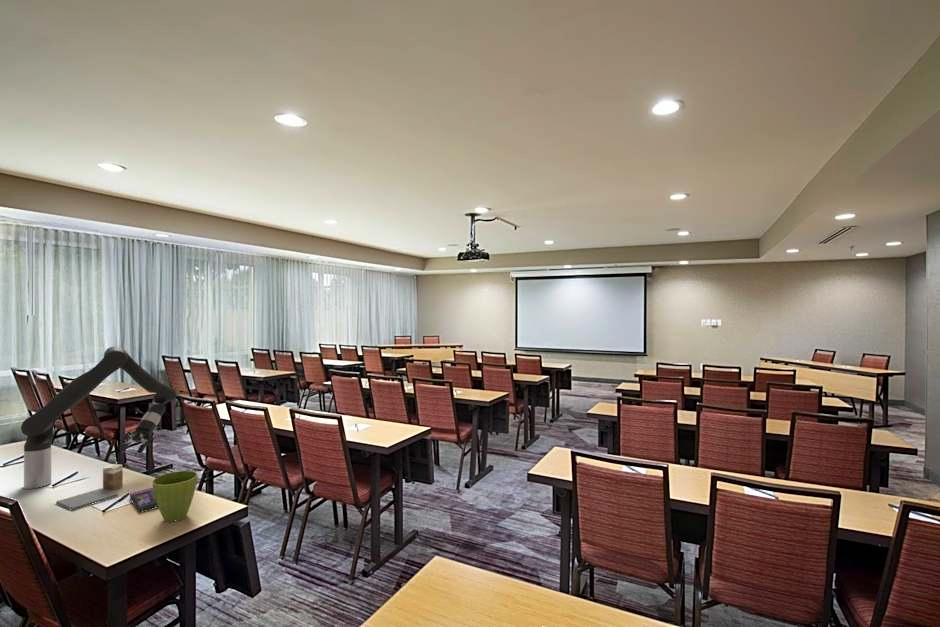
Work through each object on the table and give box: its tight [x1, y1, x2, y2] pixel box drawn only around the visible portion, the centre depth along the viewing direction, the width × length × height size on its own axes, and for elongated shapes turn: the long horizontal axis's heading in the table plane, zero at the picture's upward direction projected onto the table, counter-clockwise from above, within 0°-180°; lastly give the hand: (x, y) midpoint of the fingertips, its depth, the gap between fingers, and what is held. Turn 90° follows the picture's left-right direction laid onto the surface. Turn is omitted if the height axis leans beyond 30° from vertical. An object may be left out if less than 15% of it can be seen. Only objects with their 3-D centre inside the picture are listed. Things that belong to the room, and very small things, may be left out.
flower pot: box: [152, 470, 199, 522], centre depth 177 cm, size 15×15×16 cm
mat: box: [55, 487, 118, 511], centre depth 193 cm, size 14×16×1 cm
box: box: [129, 487, 158, 513], centre depth 193 cm, size 14×4×20 cm
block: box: [102, 463, 124, 491], centre depth 207 cm, size 5×5×10 cm
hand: (130, 452), depth 217 cm, fingers open, 8 cm apart
